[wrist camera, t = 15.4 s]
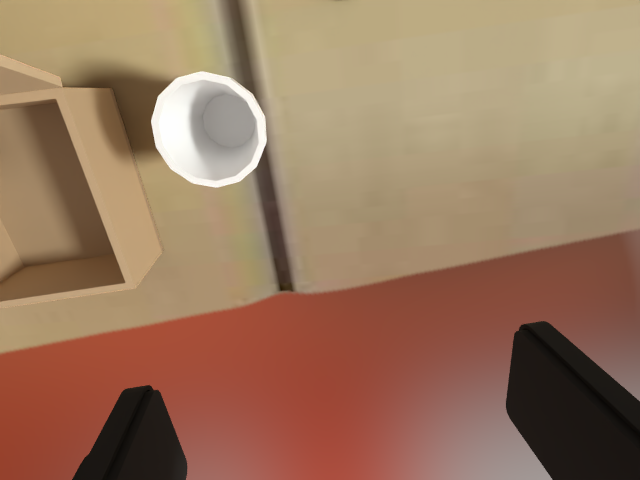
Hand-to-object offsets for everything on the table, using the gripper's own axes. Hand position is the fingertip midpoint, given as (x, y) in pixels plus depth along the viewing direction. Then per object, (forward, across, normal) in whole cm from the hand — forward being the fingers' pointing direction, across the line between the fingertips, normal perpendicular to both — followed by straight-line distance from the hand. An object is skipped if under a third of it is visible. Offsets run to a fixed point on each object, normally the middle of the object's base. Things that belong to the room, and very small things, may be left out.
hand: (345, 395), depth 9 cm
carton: (+38, +28, 0) cm, 47 cm away
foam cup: (+38, +7, -5) cm, 39 cm away
